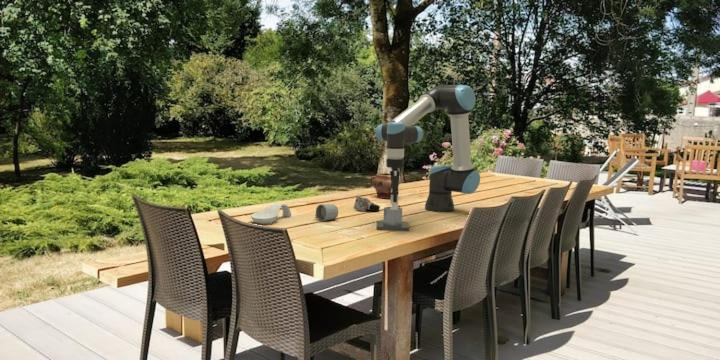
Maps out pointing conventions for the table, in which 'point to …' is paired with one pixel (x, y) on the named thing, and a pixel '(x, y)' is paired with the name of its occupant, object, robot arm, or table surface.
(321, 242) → the table surface
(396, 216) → the tube
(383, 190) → the decorative planter
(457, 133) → the robot arm
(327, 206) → the ceramic mug
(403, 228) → the shaft block
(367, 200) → the caster wheel
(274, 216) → the spoon rest
